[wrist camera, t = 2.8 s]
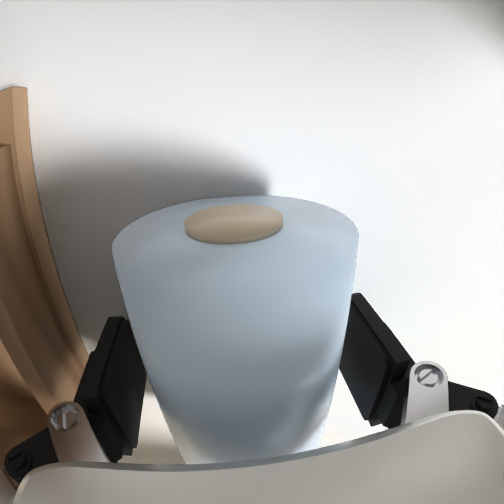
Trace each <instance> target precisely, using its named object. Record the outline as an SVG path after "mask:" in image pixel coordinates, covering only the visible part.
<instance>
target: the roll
mask: <svg viewBox="0 0 504 504" xmlns="http://www.w3.org/2000/svg"><path fill="white" fill-rule="evenodd" d="M358 237H359V233H358V230H357V227H356V226H355V224H354V223H353V222H352V221H351V220H350V219H349V218H348V217H346V216H345V215H344V214H342V213H340V212H338V211H336V210H334V209H332V208H330V207H327V206H324V205H321V204H318V203H315V202H311V201H306V200H301V199H296V198H289V197H280V196H267V195H242V196H229V197H216V198H205V199H199V200H193V201H188V202H184V203H180V204H176V205H172V206H169V207H165V208H162V209H159V210H157V211H154V212H151V213H149V214H147V215H145V216H142V217H141V218H139V219H137V220H135V221H133V222H132V223H130V224H129V225H127V226H126V227H125V228H124V229H122V230H121V231H120V233H119V234H118V235H117V236H116V238H115V239H114V241H113V244H112V255H113V260H114V264H115V268H116V272H117V276H118V280H119V284H120V288H121V292H122V296H123V299H124V303H125V306H126V310H127V313H128V317H129V320H130V324H131V327H132V330H133V333H134V336H135V340H136V343H137V346H138V349H139V352H140V355H141V358H142V361H143V363H144V366H145V369H146V372H147V375H148V377H149V380H150V383H151V385H152V388H153V391H154V393H155V396H156V398H157V401H158V403H159V406H160V408H161V411H162V413H163V416H164V418H165V420H166V423H167V425H168V427H169V430H170V432H171V434H172V436H173V438H174V441H175V443H176V445H177V447H178V449H179V451H180V454H181V456H182V458H183V460H184V462H185V464H209V463H223V462H235V461H245V460H253V459H261V458H268V457H275V456H281V455H287V454H293V453H298V452H303V451H308V450H313V449H318V448H319V447H320V444H321V440H322V436H323V433H324V429H325V425H326V421H327V417H328V413H329V409H330V405H331V401H332V397H333V392H334V388H335V383H336V379H337V374H338V369H339V365H340V360H341V354H342V349H343V344H344V338H345V333H346V327H347V321H348V315H349V309H350V302H351V295H352V288H353V281H354V273H355V265H356V257H357V248H358Z"/></svg>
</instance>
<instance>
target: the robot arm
mask: <svg viewBox="0 0 504 504" xmlns="http://www.w3.org/2000/svg"><path fill="white" fill-rule="evenodd" d="M339 369H340V371H341V373H342V375H343V377H344V379H345V381H346V383H347V385H348V387H349V390H350V392H351V394H352V396H353V398H354V400H355V402H356V404H357V406H358V408H359V410H360V412H361V415H362V417H363V418H364V420H368V421H369V423H370V425H371V427H372V426H375V425H378V424H383V426H385V427H386V429H385V431H382V432H378V433H375V434H372V435H368V436H365V437H362V438H358V439H355V440H351V441H347V442H343V443H339V444H335V445H331V446H327V447H322V448H318V449H313V450H308V451H303V452H298V453H293V454H287V455H281V456H275V457H268V458H261V459H253V460H245V461H235V462H223V463H209V464H185V465H153V464H125V463H120V462H119V460H120V459H121V458H122V455H130V456H132V450H133V448H136V447H137V443H138V435H139V427H140V419H141V412H142V405H143V398H144V391H145V385H146V370H145V367H144V364H143V361H142V358H141V355H140V352H139V349H138V346H137V343H136V340H135V337H134V334H133V331H132V328H131V324H130V321H129V320H125V318H124V317H123V316H116V317H108V319H107V322H106V324H105V326H104V329H103V331H102V334H101V337H100V339H99V342H98V344H97V347H96V349H95V351H92V352H91V354H90V356H89V358H88V361H87V364H86V366H85V369H84V372H83V375H82V377H81V380H80V383H79V386H78V389H77V392H76V395H75V397H74V401H73V402H72V401H65V402H61V403H59V404H57V405H55V406H54V407H53V408H52V409H51V410H50V412H49V413H48V416H47V425H48V427H47V428H45V429H43V430H42V431H40V432H38V433H37V434H35V435H33V436H32V437H30V438H28V439H27V440H25V441H23V442H22V443H20V444H18V445H17V446H15V447H13V448H12V449H11V450H9V451H8V453H7V454H6V456H5V459H4V467H3V468H1V467H0V504H504V405H501V407H498V403H497V401H496V399H495V398H494V397H493V396H492V395H491V394H489V393H487V392H485V391H481V390H477V389H474V388H470V387H467V386H463V385H460V384H456V383H453V382H450V381H448V377H447V373H446V371H445V370H444V369H443V368H442V367H441V366H440V365H438V364H436V363H434V362H430V361H422V362H418V363H416V364H415V362H414V361H413V359H412V358H411V357H410V355H409V354H408V353H407V351H406V350H405V349H404V347H403V346H402V345H401V343H400V342H399V341H398V339H397V338H396V337H395V335H394V334H393V333H392V331H391V330H390V329H389V327H388V326H387V325H386V324H385V323H384V322H383V321H382V320H381V318H380V317H379V316H378V314H377V313H376V312H375V311H374V309H373V308H372V307H371V305H370V304H369V303H368V302H367V300H366V299H365V298H364V297H363V295H362V294H361V293H354V294H352V295H351V302H350V309H349V315H348V321H347V327H346V333H345V338H344V344H343V349H342V354H341V360H340V365H339Z"/></svg>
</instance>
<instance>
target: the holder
mask: <svg viewBox="0 0 504 504" xmlns="http://www.w3.org/2000/svg"><path fill="white" fill-rule="evenodd" d="M88 358H89V355H88V353H87V351H86V348H85V346H84V344H83V341H82V339H81V336H80V334H79V332H78V329H77V327H76V324H75V322H74V319H73V316H72V314H71V311H70V308H69V306H68V303H67V300H66V297H65V294H64V291H63V288H62V285H61V282H60V279H59V276H58V273H57V269H56V266H55V263H54V259H53V256H52V252H51V248H50V245H49V241H48V237H47V233H46V229H45V225H44V220H43V216H42V211H41V207H40V202H39V196H38V191H37V185H36V180H35V173H34V167H33V159H32V151H31V143H30V133H29V120H28V102H27V88H25V87H10V88H8V89H6V90H3V91H1V92H0V467H1V468H3V467H4V459H5V456H6V454H7V453H8V451H9V450H11V449H12V448H13V447H15V446H17V445H18V444H20V443H22V442H23V441H25V440H27V439H28V438H30V437H32V436H33V435H35V434H37V433H38V432H40V431H42V430H43V429H45V428H47V427H48V425H47V416H48V413H49V412H50V410H51V409H52V408H53V407H54V406H55V405H57V404H59V403H61V402H65V401H72V402H73V401H74V397H75V395H76V392H77V389H78V386H79V383H80V380H81V377H82V375H83V372H84V369H85V366H86V364H87V361H88Z"/></svg>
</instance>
